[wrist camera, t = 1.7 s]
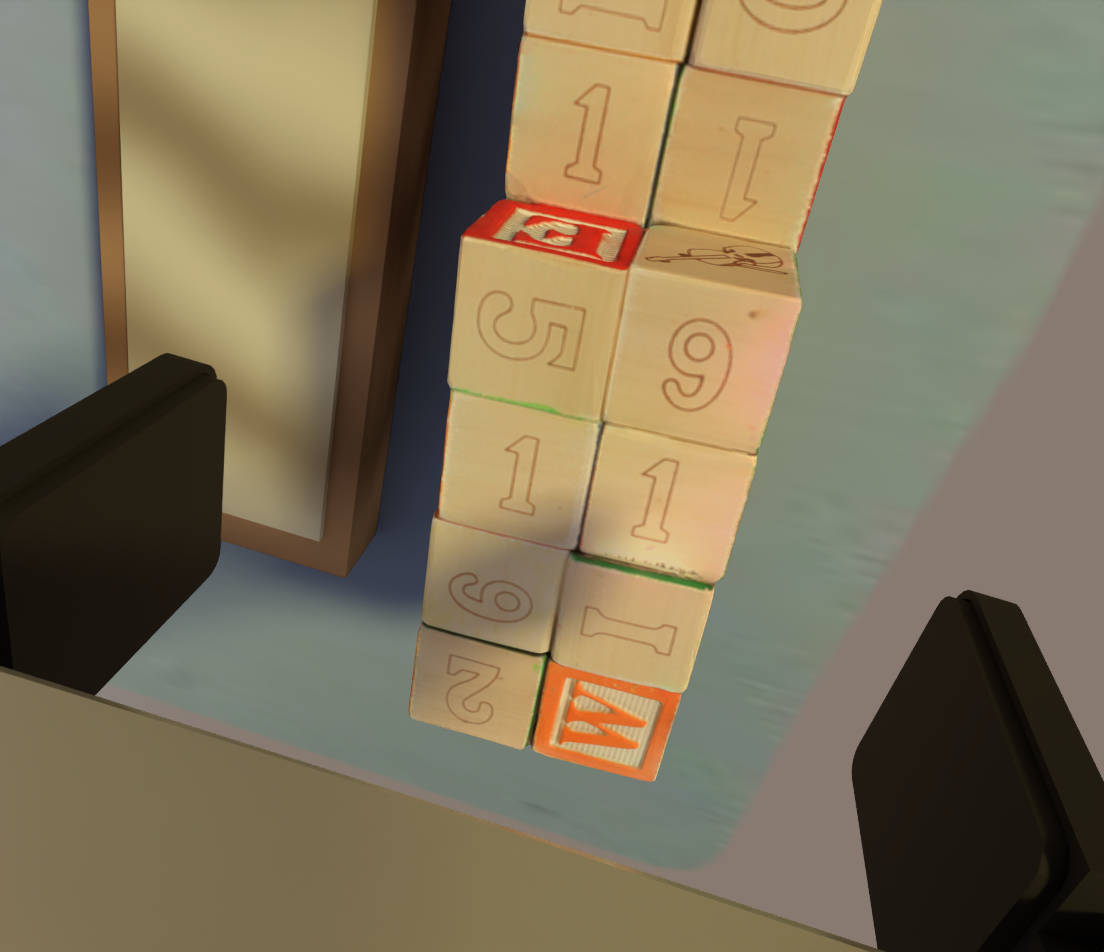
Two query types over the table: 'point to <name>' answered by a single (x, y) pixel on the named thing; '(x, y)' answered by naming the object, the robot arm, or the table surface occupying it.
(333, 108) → the wooden tray
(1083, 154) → the table surface
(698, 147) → the stack of blocks
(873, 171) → the table surface
